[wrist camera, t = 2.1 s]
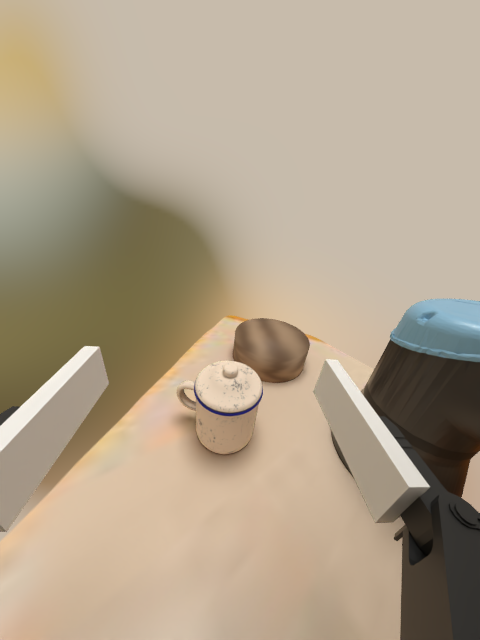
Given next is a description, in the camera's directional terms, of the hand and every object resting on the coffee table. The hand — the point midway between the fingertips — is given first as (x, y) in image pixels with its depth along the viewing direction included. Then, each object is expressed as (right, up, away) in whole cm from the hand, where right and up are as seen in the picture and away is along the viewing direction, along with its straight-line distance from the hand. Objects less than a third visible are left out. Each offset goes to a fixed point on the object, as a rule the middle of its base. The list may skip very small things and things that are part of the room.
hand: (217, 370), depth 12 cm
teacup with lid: (-2, -13, +19) cm, 23 cm away
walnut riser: (+8, -6, +35) cm, 36 cm away
